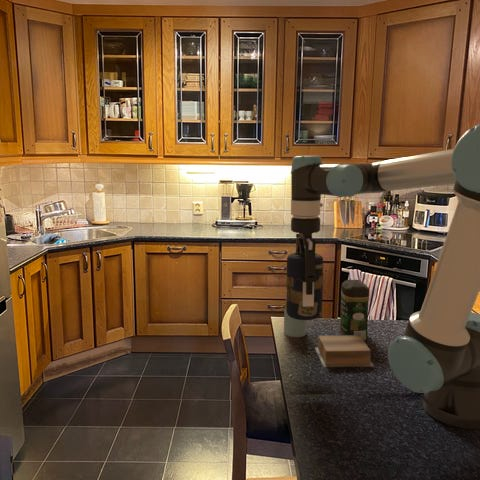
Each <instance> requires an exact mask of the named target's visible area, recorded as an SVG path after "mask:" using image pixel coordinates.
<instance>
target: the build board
mask: <svg viewBox="0 0 480 480" xmlns="http://www.w3.org/2000/svg"><path fill="white" fill-rule="evenodd" d="M314 349H315V351H316V353H317V355H318V358H319V360H320V362H321V364H322V367H323V368H353V367H355V368H357V367H358V368H361V367H365V368H366V367H368V368H370V367H375V366H374V364H373V362H372V361H371V360H370V365H325V362H324V360H323V358H322V356H321V354H320V352H319V349H318V346H317V347H316V346H315V347H314Z"/></svg>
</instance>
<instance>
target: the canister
mask: <svg viewBox="0 0 480 480" xmlns="http://www.w3.org/2000/svg"><path fill="white" fill-rule="evenodd" d="M315 259H316V281H314V306H305V307H303V282H301V280H302V279H304V264H305V259H303V257H302V256H301V255H300V251H299V252H296V251H295V252H291V253H290V254H288V255H287V257H286V283H285V284H286V291H287V295H286V294H285V303H286V312H287V314H288V316H290V317H291V318H294V319H297V320H307V321H312V320H317V319H318V318H320V317H321V316H322V313H323V309H322V308H323V295H324V294H323V286H324V285H323V279H324V278H323V277H324V258H323V255H321V254H319V253H316V252H315ZM308 277H311V276H308Z"/></svg>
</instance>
